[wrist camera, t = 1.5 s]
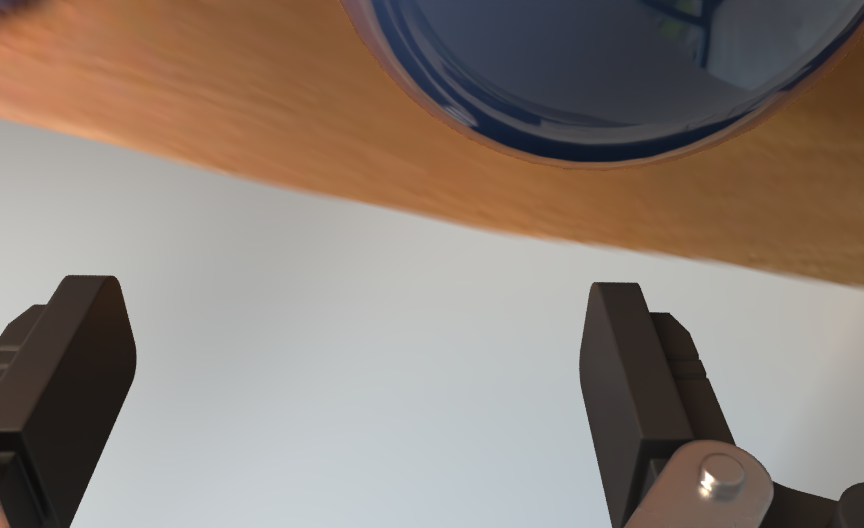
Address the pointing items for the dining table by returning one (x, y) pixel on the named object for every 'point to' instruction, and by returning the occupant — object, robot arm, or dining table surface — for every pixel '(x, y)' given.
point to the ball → (605, 70)
